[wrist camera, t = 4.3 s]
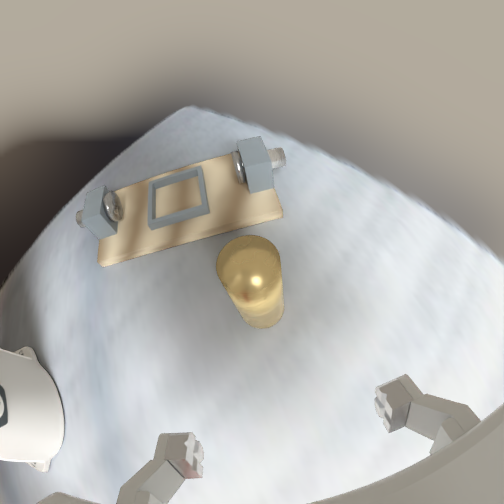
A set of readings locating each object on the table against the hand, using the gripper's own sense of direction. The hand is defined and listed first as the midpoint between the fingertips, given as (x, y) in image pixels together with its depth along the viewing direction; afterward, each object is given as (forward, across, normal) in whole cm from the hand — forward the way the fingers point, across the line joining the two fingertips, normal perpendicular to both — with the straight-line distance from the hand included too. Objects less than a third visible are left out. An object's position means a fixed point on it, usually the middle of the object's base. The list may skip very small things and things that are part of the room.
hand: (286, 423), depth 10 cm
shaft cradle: (+29, +7, -8) cm, 31 cm away
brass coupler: (+17, 0, +3) cm, 18 cm away
